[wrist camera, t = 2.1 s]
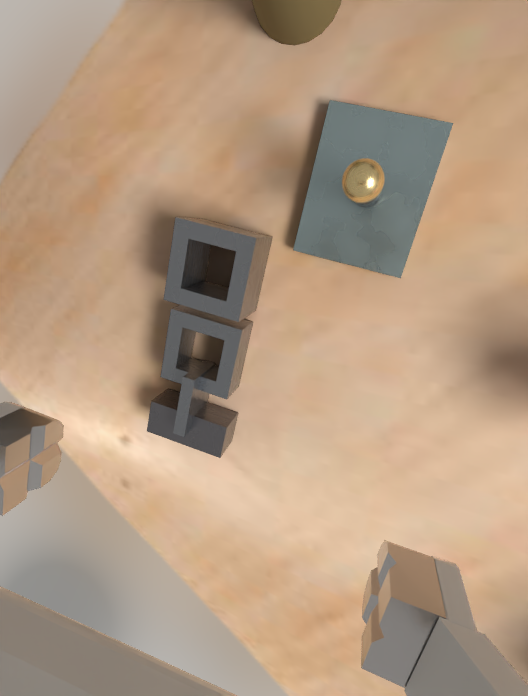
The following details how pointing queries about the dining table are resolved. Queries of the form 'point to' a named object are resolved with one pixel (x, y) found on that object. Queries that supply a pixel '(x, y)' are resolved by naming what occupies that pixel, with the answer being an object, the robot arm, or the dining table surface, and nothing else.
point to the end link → (193, 260)
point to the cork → (295, 18)
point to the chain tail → (199, 381)
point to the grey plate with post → (370, 186)
